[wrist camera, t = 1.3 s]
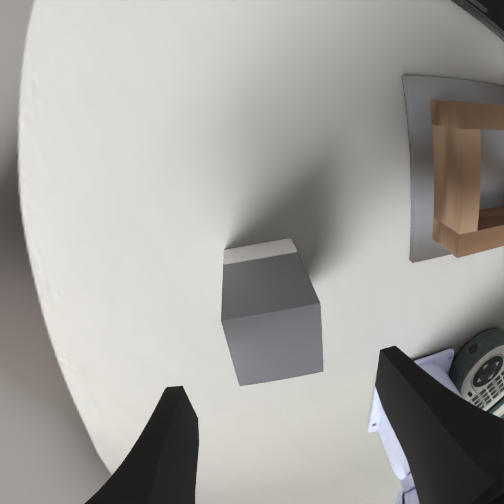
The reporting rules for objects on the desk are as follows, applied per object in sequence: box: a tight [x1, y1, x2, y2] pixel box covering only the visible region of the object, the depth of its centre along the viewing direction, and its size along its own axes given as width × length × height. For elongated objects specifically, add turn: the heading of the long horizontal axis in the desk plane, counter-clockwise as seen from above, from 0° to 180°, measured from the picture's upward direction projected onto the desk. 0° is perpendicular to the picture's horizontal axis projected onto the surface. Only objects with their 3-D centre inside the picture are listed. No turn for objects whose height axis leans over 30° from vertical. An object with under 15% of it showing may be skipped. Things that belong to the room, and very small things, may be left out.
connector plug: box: [221, 238, 323, 386], centre depth 17 cm, size 4×4×7 cm
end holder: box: [402, 75, 504, 263], centre depth 16 cm, size 12×12×4 cm
